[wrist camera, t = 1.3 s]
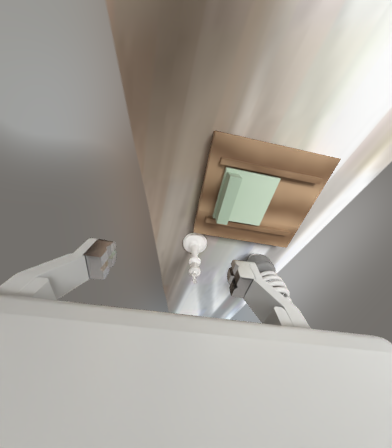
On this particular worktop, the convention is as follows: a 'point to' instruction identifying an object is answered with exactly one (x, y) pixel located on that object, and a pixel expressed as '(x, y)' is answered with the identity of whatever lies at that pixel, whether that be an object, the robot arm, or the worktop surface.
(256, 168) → the board
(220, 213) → the cover
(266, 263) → the light bulb
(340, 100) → the worktop surface
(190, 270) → the chess piece
